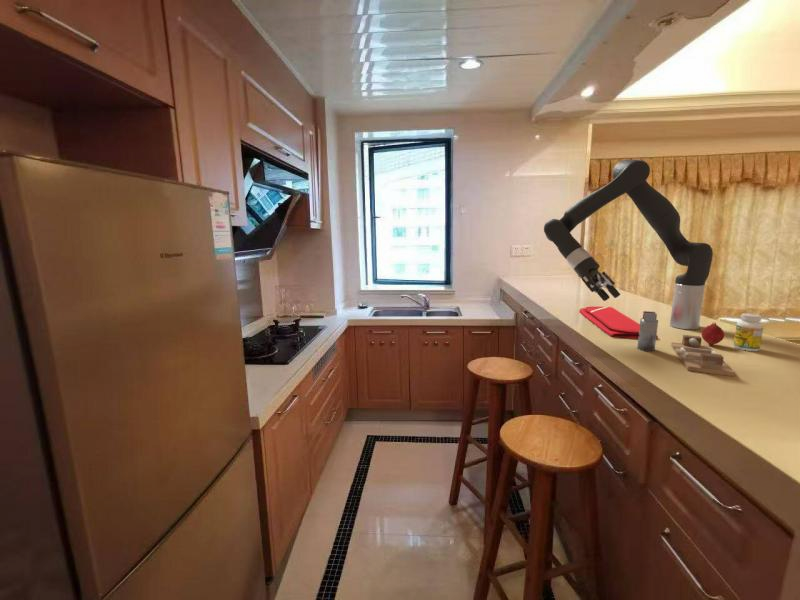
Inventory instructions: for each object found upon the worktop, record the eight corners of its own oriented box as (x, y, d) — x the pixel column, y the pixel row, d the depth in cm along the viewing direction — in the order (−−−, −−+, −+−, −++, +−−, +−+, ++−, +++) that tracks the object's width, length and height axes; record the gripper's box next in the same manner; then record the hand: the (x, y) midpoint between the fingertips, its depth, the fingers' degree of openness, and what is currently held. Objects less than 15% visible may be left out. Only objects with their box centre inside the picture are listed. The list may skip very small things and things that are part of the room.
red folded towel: (610, 339, 135) (611, 329, 134) (577, 313, 174) (578, 305, 173) (658, 340, 132) (659, 330, 131) (613, 314, 171) (614, 306, 171)
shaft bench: (671, 345, 124) (673, 331, 123) (708, 349, 120) (710, 334, 119) (688, 370, 103) (690, 353, 102) (734, 376, 98) (737, 358, 98)
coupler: (636, 346, 125) (640, 310, 122) (653, 347, 123) (657, 311, 120) (638, 350, 120) (642, 313, 118) (655, 352, 118) (660, 314, 116)
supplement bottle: (765, 351, 117) (771, 317, 115) (746, 352, 117) (751, 317, 115) (746, 345, 123) (751, 312, 121) (727, 345, 123) (733, 313, 121)
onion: (726, 348, 121) (730, 324, 119) (706, 347, 122) (709, 324, 120) (715, 342, 126) (718, 320, 125) (696, 342, 127) (699, 319, 126)
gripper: (580, 257, 127) (612, 293, 120) (599, 254, 136) (630, 289, 129) (564, 271, 132) (594, 307, 126) (583, 268, 141) (612, 301, 134)
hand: (612, 297), depth 127 cm, fingers open, 8 cm apart
